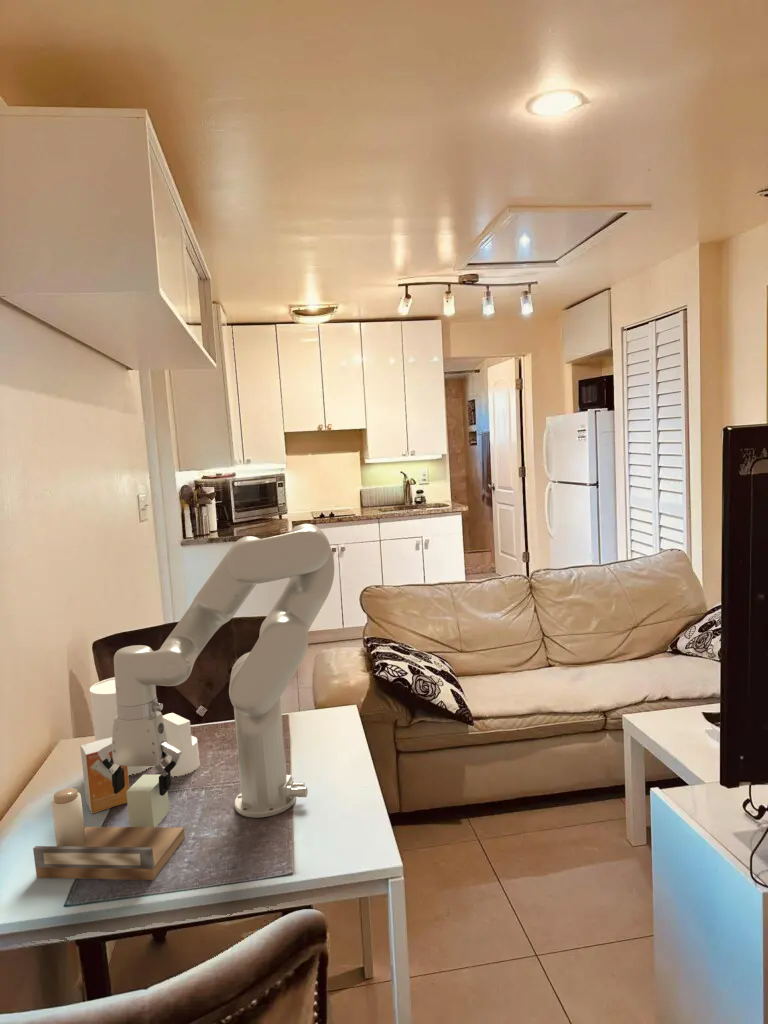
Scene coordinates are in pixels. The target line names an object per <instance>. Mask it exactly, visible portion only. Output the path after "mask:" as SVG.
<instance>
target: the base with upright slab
mask: <svg viewBox="0 0 768 1024" xmlns="http://www.w3.org/2000/svg"><path fill="white" fill-rule="evenodd" d="M162 716H163V720H164V723H165V728H166V733H167V740H168V744H169V745H171V746H173V747H175V748H176V749H178V750H180V751H181V752H182V755H181V757H180V759H179V761H178V764H177V765H176V766H175V767H174V768H173V769H172V770H171V771H170V775H171V776H172V777H171V778H175V777H174V776H177V777H182V776H186V775H189V774H191V773H193V772H195V771H196V770H198V769H199V768H200V765H201V763H200V753H199V743H198V738H197V737H196V736H193V735H192V728H191V720H189V719H187V718H185V717H182V716H181V715H179V714H176V713H174V712H171V713H170V712H169V713H166V714H164V715H163V714H162ZM166 759H167V760H168V761H169V763H170V762H171V759H172V757H171V756H170V755H168V756H167V757H166ZM194 770H195V771H194ZM188 773H189V774H188ZM185 774H186V775H185ZM181 775H182V776H181Z"/></svg>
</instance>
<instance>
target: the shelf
mask: <svg viewBox="0 0 768 1024" xmlns="http://www.w3.org/2000/svg"><path fill="white" fill-rule="evenodd" d="M84 828H85V837H86V842H85V844H84V845H83V846H82V847H70V846H52V845H50V846H49V845H43V846H42V845H36V846H34V847H33V848H32V850H33V858H34V867H35V876H36V879H77V878H78V879H79V880H80V879H81V878H82V880H87V879H88V880H129V881H131V880H135V881H136V880H137V881H139V880H141V881H144V880H145V881H147V880H148V881H153V880H155V879H156V877H157V876H158V875H159V873H160V872H161V870H163V868H164V867H165V865H166V864H167V863H168V861H169V860H170V859H171V857H172V856H173V855H174V853H175V852H176V850H177V849H178V847H180V846H181V844H182V842H183V841H184V839H185V838H186V833H185V827H169V826H168V827H163V826H162V827H158V826H157V827H130V826H84ZM84 878H85V879H84ZM90 878H91V879H90ZM104 878H105V879H104Z"/></svg>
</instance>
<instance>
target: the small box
mask: <svg viewBox="0 0 768 1024" xmlns="http://www.w3.org/2000/svg"><path fill="white" fill-rule="evenodd" d="M110 744H112V737H111V738H107V739H102V740H98V741H95V740H94V741H93V742H88V743H85V744H81V745H80V756H81V764H82V775H83V783H84V792H85V801H86V802H85V803H86V805H87V806H88V809H89V811H90V812H91V814H95V813H98V812H102V811H104V810H108V809H110V808H113V807H117V806H120V805H124V804H127V794H126V791H127V790H128V789H129V788H130V780H129V776H128V767H127V766H121V768H123V769H124V779H125V787H124V788H123V789H122V790H121V791H120V792H119V793H117V794H114V787H112V774H109V770H108V769H107V768H106V767H105V766H104V765H103V761H102V760H101V758H100V757H99V755H98V751H99V750H101V749H102V748H104V747H106V746H108V745H110ZM109 756H110V757H111V758H112V759H113V757H112V751H111V752H109Z"/></svg>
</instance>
